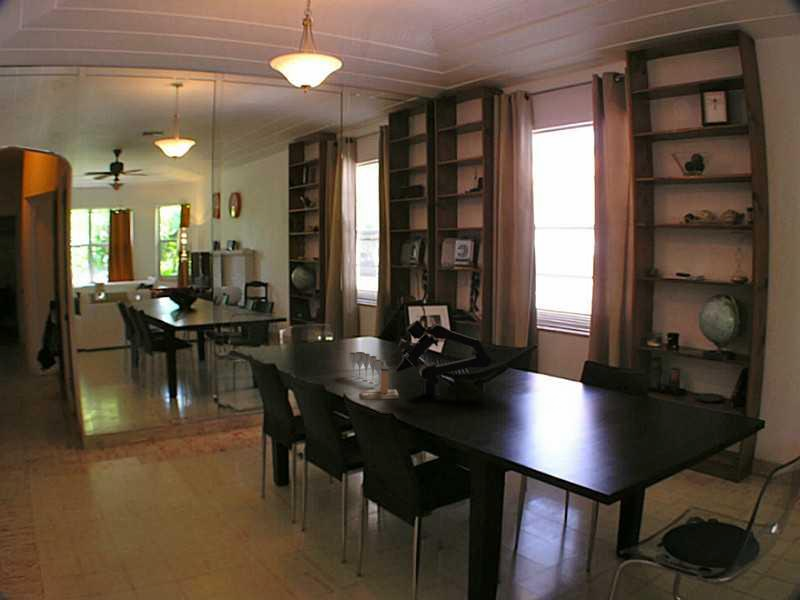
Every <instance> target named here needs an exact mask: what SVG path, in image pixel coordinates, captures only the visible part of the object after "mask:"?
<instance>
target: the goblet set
mask: <svg viewBox="0 0 800 600" xmlns="http://www.w3.org/2000/svg"><path fill="white" fill-rule="evenodd" d="M348 360H349V362H350V363H351V366H352V374H351V375H348V377H349V378H354V379H355V380H359V379H360V380H361V381H362V382H368V384H371V385H373V384H374V386H375V387H380V373H381V370H380V366H387V364H386V360H385V359H378V358H377V356H376V355H371V354H370V353H365V352H363V351H357V352H349V354H348ZM356 365H357V367H358V375H355V374H354V372H355V366H356ZM362 366H363V367H364V368H365V376H367V375H368V368H369V366H370V368H371V373H372V375H371V377H372V381H371V379H367V378H365V377H361V367H362ZM374 371H376V372H377V374H378V378H379V379H378V381H379V382H378V383H377V382H376V381H374Z"/></svg>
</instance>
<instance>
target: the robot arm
mask: <svg viewBox="0 0 800 600" xmlns="http://www.w3.org/2000/svg"><path fill="white" fill-rule="evenodd" d="M405 330H406V332H407V333H408V334H409V335H410V336H411V337H412V338H413V339H414V340H416V339H417V341H416V342H413V343H411V342H410V341H408V340H404V339H400V340H399V343H398V345H397V346H398V347H399V348H400V349H402V350H401V352H402V353H403V354H402V355H401V356H402V359H401V361H400V362H399V364H398V366H397V367H396V373H397V372H401V371H403V370H406V369H409V368H412V367H414V368H416V369H417V368H418V367H419V366H420V361H419V360H420V358H421V356H423V355H425V354H426V352H427V351H428V350H429V349H430V348H431V347H432V346H433V345H435V346H436V347H438V346H439V343H438V342H439V340H438V339H441V340H450V341H454V342H457V343H460V344H462V345H464V346H469V347H472V350H473V352H474V353H473V355H471V356H470V357H468V358H464V359H460V360H455V361H450V362H445V363H441V364H436V363H435V362H434V361H431V362H427V363H426V362H424V364H423V365H421V366H420V368H419V369H418V370H419V372H418V373H419V374H420V376H421V378H422V379H423V381H422V384H421V385H422V386H421V389H422V391H421V392H422V393H420V396H424V397H427V398H428V397H429V398H434V397H439V396H440V395H441V393H439V381H440V379H439V378H438V377H439V376H440V375H442V374H443V375H444V374H447V373H452V372H456V371H457V372H458V371H461V370H465V369H470V368H475V369H476V368H477V369H486V368H488V367H490V365H491V364H492V359H491V356H489V355H488V354H487V353H486V351H485V349H484V347H483V346H482V342H481V341H480V340H479V339H477V338H475V337H470V336H467V335H464V334H461V333H459V332H455V331H452V330H450V329H448V328H446V327H445V326H442V325H441V324H439V323H434V324H432V325H431V326H426V327H424V326H423V325H422V323H421V322H420V321H419V320H418V319H416V320H414V321H413V322H412V323H410V324H409V325H408V326H407V327H406V329H405ZM425 332H426V333H427V334H426V333H425ZM435 338H436V339H435Z"/></svg>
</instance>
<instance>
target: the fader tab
mask: <svg viewBox="0 0 800 600" xmlns="http://www.w3.org/2000/svg"><path fill="white" fill-rule="evenodd" d="M380 370H381V373H380V386H379V390H380V391H381V393H388V390H389V372H390V368H389V366H388V365H386V366H380Z"/></svg>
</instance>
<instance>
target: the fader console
mask: <svg viewBox="0 0 800 600" xmlns="http://www.w3.org/2000/svg"><path fill="white" fill-rule="evenodd" d="M360 394H361V399H363V400H369V399H370V400H372V399H373V400H376V399H377V400H378V399H382V400H383V399H385V400H386V399H388V400H389V399H400V398H399V397H400V396H399V393H398V390H397V389H388V393H381V391H380V389H360Z"/></svg>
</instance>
